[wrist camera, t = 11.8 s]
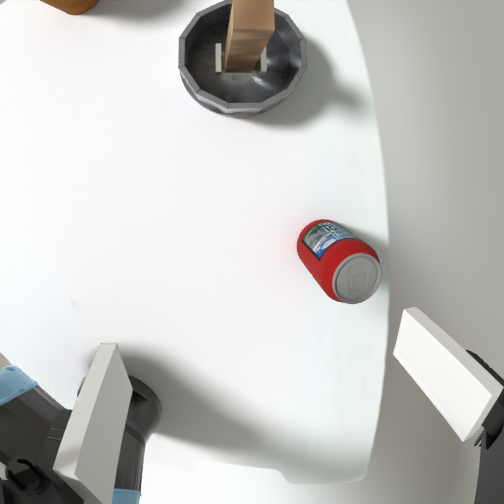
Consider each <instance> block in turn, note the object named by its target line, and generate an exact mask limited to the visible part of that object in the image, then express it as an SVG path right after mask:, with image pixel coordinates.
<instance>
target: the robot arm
mask: <svg viewBox="0 0 504 504" xmlns="http://www.w3.org/2000/svg"><path fill="white" fill-rule="evenodd" d="M393 355H394V356H395V357H396V358H397V359H398V361H399V362H400V363H401V364H402V365H403V367H404V368H405V369H406V370H407V372H408V373H409V374H410V375H411V376H412V378H413V379H414V380H415V381H416V383H417V384H418V385H419V386H420V387H421V389H422V390H423V391H424V393H425V394H426V395H427V396H428V398H429V399H430V400H431V401H432V403H433V404H434V405H435V406H436V408H437V409H438V410H439V411H440V413H441V414H442V415H443V417H444V418H445V419H446V420H447V422H448V423H449V424H450V426H451V427H452V428H453V429H454V431H455V432H456V433H457V435H458V436H459V437H460V439H461V440H462V441H465V440H467V439H468V438H470V437H472V436H473V435H475V433H476V432H477V431H478V429H479V428H480V426H481V425H482V426H483V427H484V430H483V431H482V433H481V434H480V436H479V437H478V439H477V440H476V441H475V444H474V446H476V445H477V444H478V443H479V441H480V440H481V444H480V445H479V447H481V453H480V466H479V475H478V482H477V489H476V496H475V502H474V504H504V380H503V379H502V378H501V377H500V376H499V375H498V374H497V373H496V372H495V371H494V370H493V369H492V368H489V366H488V364H486V363H484V361H483V360H482V359H481V358H480V357H479V356H478V355H477V354H475V353H473V352H471V351H469V350H466V351H465V350H464V349H463V348H462V347H461V346H460V345H459V344H458V343H456V342H455V341H454V340H453V339H452V338H451V337H450V336H449V335H447V334H446V333H445V332H444V331H443V330H442V329H441V328H440V327H438V326H437V325H436V324H435V323H434V322H433V321H432V320H431V319H429V318H428V317H427V316H426V315H425V314H424V313H422V312H421V311H420V310H419V309H418V308H417V307H412V308H407V309H404V311H403V315H402V320H401V324H400V329H399V333H398V338H397V342H396V345H395V349H394V353H393ZM160 410H161V407H160V402H159V400H158V398H157V396H156V395H155V394H154V392H153V391H152V390H151V389H150V388H149V387H147V386H146V385H145V384H143V383H142V382H140V381H139V380H137V379H135V378H133V377H131V376H128V375H127V372H126V369H125V367H124V364H123V361H122V358H121V355H120V352H119V349H118V346H117V343H101V344H100V346H99V349H98V351H97V353H96V355H95V358H94V360H93V362H92V364H91V367H90V369H89V371H88V374H87V376H86V377H85V378H84V379H83V380H82V382H81V385H80V387H79V389H78V393H77V401H76V403H75V406H74V408H73V410H69V409H66V408H64V407H63V406H62V405H61V404H59V403H58V402H57V401H56V400H55V399H53V398H52V397H51V396H50V395H49V394H48V393H46V392H45V391H44V390H43V389H42V388H41V387H40V386H39V385H38V383H37V382H36V381H33V380H32V379H31V378H30V377H29V376H27V375H26V374H25V373H24V372H23V371H22V370H21V369H20V368H18V367H17V366H14V365H7V366H5V367H3V368H2V369H1V370H0V504H139V499H140V496H141V481H142V470H143V461H144V452H145V445H146V442H147V441H148V439H149V437H150V436H151V434H152V433H153V431H154V429H155V428H156V426H157V424H158V422H159V418H160Z"/></svg>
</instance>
